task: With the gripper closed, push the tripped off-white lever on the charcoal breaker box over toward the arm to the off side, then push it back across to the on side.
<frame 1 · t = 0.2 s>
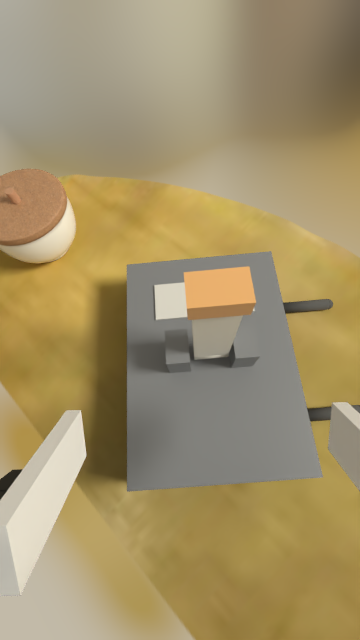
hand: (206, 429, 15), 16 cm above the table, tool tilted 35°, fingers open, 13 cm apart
breaker box: (207, 366, 32), on the table
router antennas: (311, 357, 32), on the table
lidded jar: (50, 244, 40), on the table
breaker lever: (213, 327, 21), point 12 cm above the table, hinge at 0.0°
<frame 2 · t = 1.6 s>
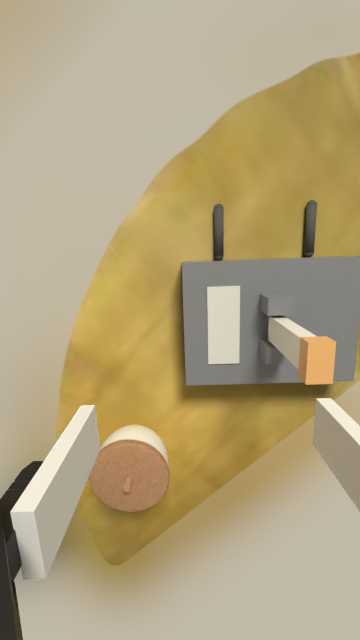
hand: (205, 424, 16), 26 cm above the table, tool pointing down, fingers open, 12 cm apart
breaker box: (260, 316, 41), on the table
router antennas: (263, 231, 39), on the table
lidded jar: (137, 441, 46), on the table
breaker lever: (292, 341, 29), point 12 cm above the table, hinge at 0.0°
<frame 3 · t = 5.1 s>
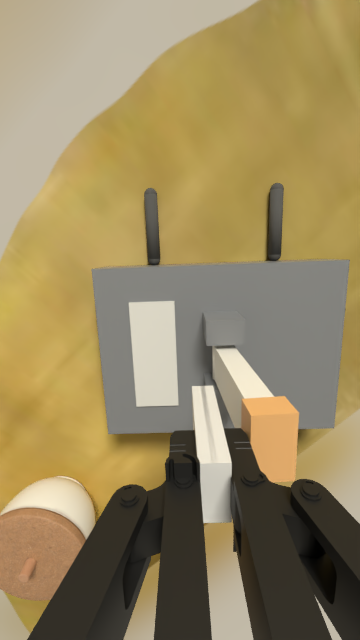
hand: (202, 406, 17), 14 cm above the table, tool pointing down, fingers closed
breaker box: (214, 338, 31), on the table
router antennas: (213, 226, 29), on the table
lidded jar: (64, 495, 36), on the table
breaker lever: (239, 389, 19), point 12 cm above the table, hinge at -4.0°, touching gripper
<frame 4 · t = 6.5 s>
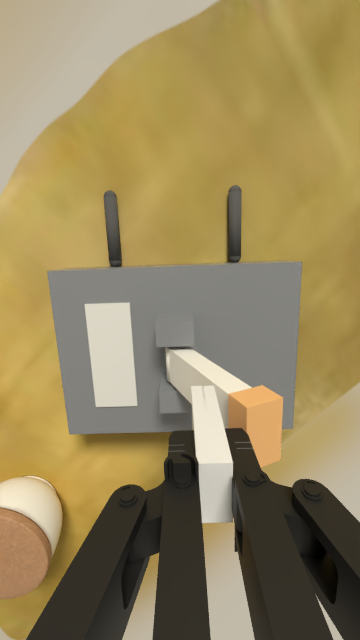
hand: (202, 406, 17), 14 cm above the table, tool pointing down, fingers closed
breaker box: (178, 339, 32), on the table
router antennas: (173, 228, 29), on the table
lidded jar: (34, 494, 37), on the table
breaker lever: (205, 386, 20), point 12 cm above the table, hinge at -24.1°, touching gripper
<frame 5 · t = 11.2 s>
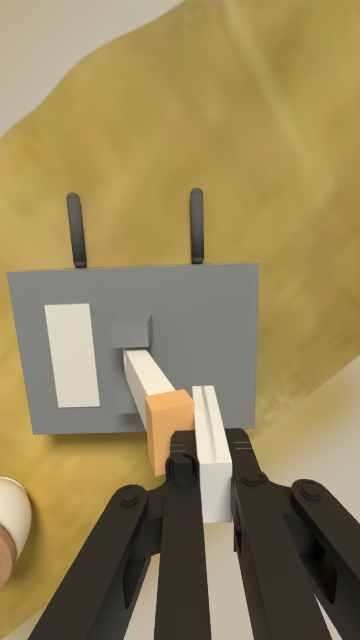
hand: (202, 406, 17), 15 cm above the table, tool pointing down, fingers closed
breaker box: (144, 339, 32), on the table
router antennas: (137, 229, 29), on the table
lidded jar: (5, 495, 37), on the table
breaker lever: (148, 388, 20), point 12 cm above the table, hinge at -19.0°, touching gripper
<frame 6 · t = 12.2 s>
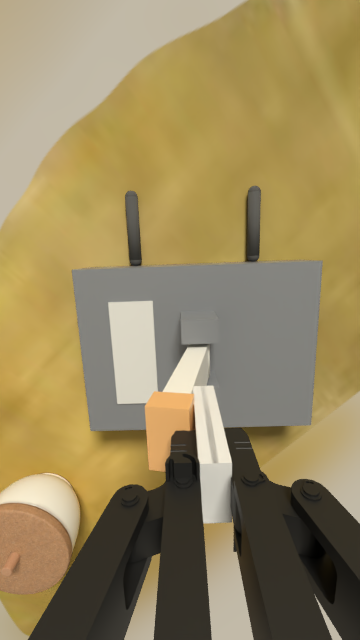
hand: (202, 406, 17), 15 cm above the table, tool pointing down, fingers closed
breaker box: (195, 337, 32), on the table
router antennas: (193, 227, 29), on the table
lidded jar: (50, 491, 37), on the table
breaker lever: (189, 386, 20), point 12 cm above the table, hinge at 11.1°, touching gripper
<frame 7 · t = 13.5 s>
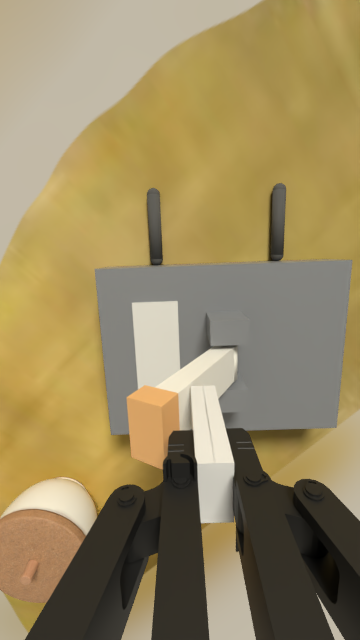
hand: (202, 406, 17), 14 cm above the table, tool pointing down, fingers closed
breaker box: (216, 338, 31), on the table
router antennas: (215, 226, 29), on the table
lidded jar: (65, 496, 36), on the table
breaker lever: (198, 386, 20), point 12 cm above the table, hinge at 30.3°, touching gripper
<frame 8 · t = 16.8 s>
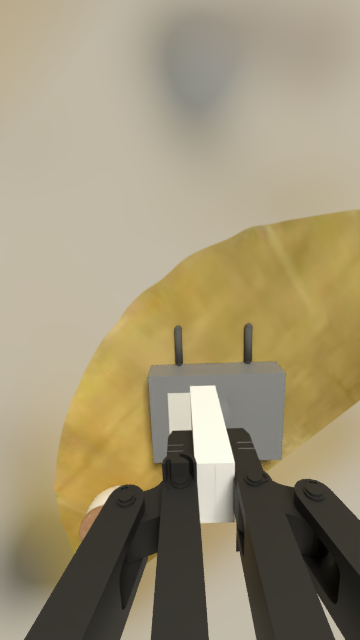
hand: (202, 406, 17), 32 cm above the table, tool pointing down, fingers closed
breaker box: (213, 404, 53), on the table
router antennas: (213, 343, 50), on the table
lidded jar: (119, 497, 58), on the table
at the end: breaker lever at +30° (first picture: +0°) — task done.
